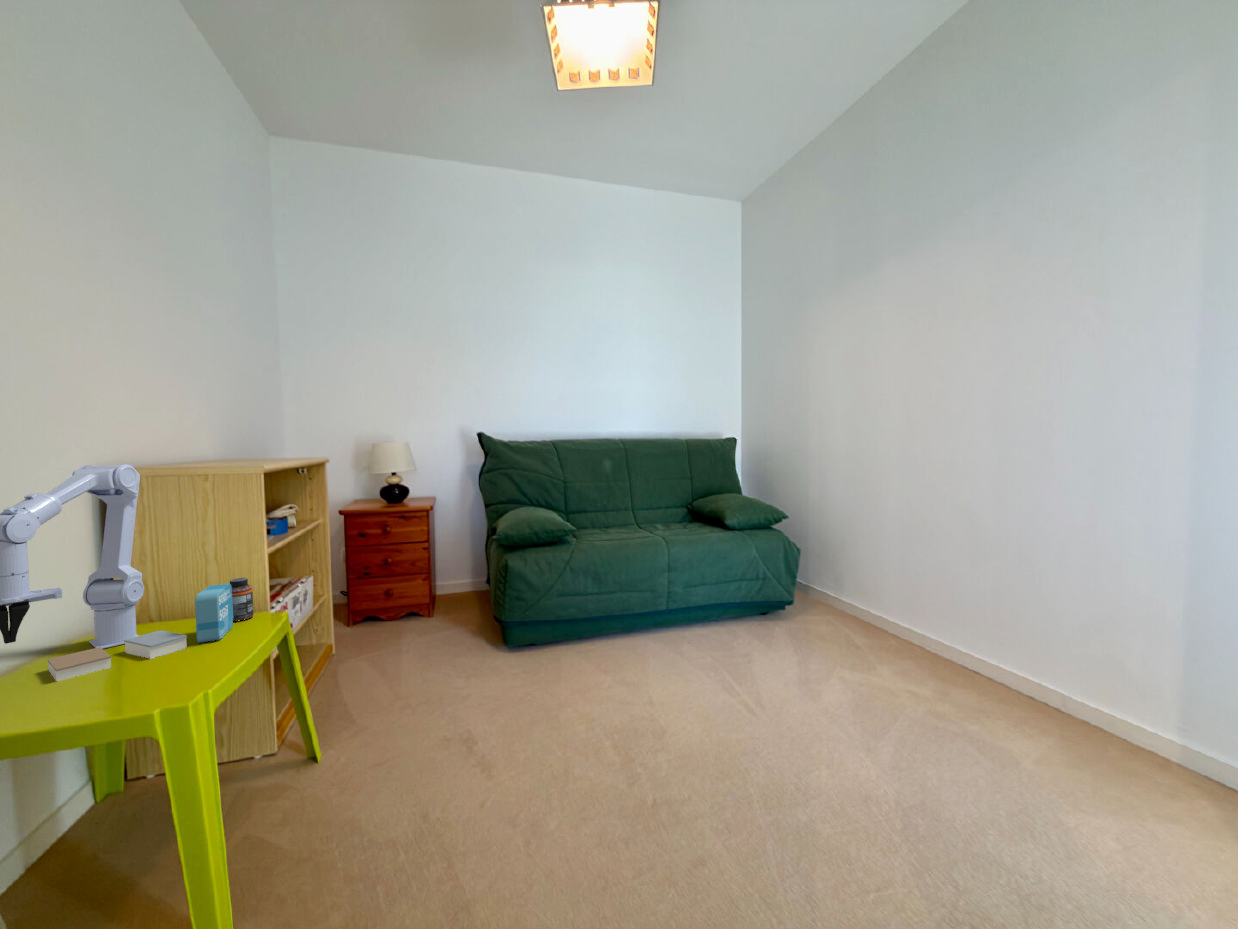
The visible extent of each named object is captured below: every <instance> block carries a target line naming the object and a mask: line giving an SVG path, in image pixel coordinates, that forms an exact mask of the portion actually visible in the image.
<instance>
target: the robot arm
mask: <svg viewBox="0 0 1238 929" xmlns="http://www.w3.org/2000/svg"><path fill="white" fill-rule="evenodd" d="M140 479H141V474H140V473H139V472H138V471H137V470H136V469H135V467H133V466H132V465H131V464H127V463H125V464H115V465H114V464H109V465H107V464H105V465H91V464H90V465H89V464H86V465H83V466H81V467H80V468H78V469H75V470H73V471H72V476H70V477H68V478H67V479H65V480H64V481H63V482H61V483H60V484H58V485H57V486H55V487H54V488H52V489H51V490H49V491H48V492H47V493H42V492H38V493H29V494H26V495H25V496H24V499H23V500H21V501H19V502H18V503H16V504H14V505H12V506H11V507H10V506H9V507H6V508H4V509H3V511H2V512H0V633H1V634H2V638H3V643H4V644H5V645H7V644H9V643H10V644H11V643H16V641H17V635H18V632H19V629H20V626H21V624H22V622H23V620H24V618H25V616H26V615H27V614H28V612H29V610H30V608H31V607H30V606H31V605H30V603H33V602H35V603H36V602H40V601H41V602H42V601H47V600H54V599H55V600H56V599H62V598H63V589H62V588H61V587H55V588H49V589H40V590H39V589H38V590H30V574H29V554H28V553H29V552H28V550H29V548H28V542H29V541H30V540H32V539H33V538H34V537H35V535H36V533H37V530H38V529H39V528H40V527H41V526H42V525H43V524H46V523H47V522H49V521H50V520H51V519H53V518H54V517H56V516H58V515H59V514H61V512H62V509H63V507H62V506H63V505H64V504H67V503H68V502H70V501H73V500H74V499H76V498H78V497H80V496H81V495H83V494H85V493H88V495H89V494H90V495H91V496H93V497H95V498H98V500H102V501H103V502H104V503H105V504H106V513H105V521H104V522H105V523H104V532H103V541H102V549H101V559H100V568H98V569H97V570H95V571H94V572H93V573H91V574H90V575H89V576H88V579H87V584H86V586H85V588H84V589H83V592H82V599H83V602H84V603H85V605H87V606H89V607H90V610H91V611H92V610H93V613H94V615H93V616H94V617H93V623H94V624H93V625H94V639H91V640H89V641H88V642H89V643H90V644H91V646H93V647H94V648H98V647H100V648H102V649H103V650H104V649H107V648H112V647H116V646H120V645H125V642H124V640H126V639H130V638H134V637H137V636H140V635H139V634H138V633H137V619H136V618H137V616H136V604H139V602H140V600H141V599H142V597H143V595H144V592H145V585H144V583H143V573H142V572H141V571H139V570H137V569H136V568H134V567H132V556H133V554H132V553H133V548H134V547H133V546H134V535H135V526H136V525H135V524H136V517H137V516H136V515H137V506H138V497H139V491H140V490H139V489H140V482H141V480H140Z"/></svg>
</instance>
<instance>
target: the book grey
mask: <svg viewBox="0 0 1238 929" xmlns="http://www.w3.org/2000/svg"><path fill="white" fill-rule="evenodd" d="M187 638H188V635H187V634H184V633H183V634H181V633H177V632H172V631H165V630H161V629H160V630H156V631H153V632H149V633H145V634H142V635H139V636H137V637H134V638H130V639H126V640H124V642H125V644H124V653H125V654H128V655H131V656H135V657H136V656H137V657H140V656H141V658H144V657H145V659H150V660H153V659H156V658H155V657H157V656H160V657H163V656H165V655H166V656H167V655H170V654H173V653H175V652H179V651H182V650H185V649H188V647H187V643H188V642H187ZM178 650H179V651H178ZM157 658H158V657H157Z"/></svg>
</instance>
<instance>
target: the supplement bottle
mask: <svg viewBox="0 0 1238 929" xmlns="http://www.w3.org/2000/svg"><path fill="white" fill-rule="evenodd" d="M229 584H231V587H232V607H233V621H238V620H244V619H248V620H250V619H251V617H252V618H254V599H253V598H254V597H253V594H254V593H253V586H252V585H250V584H249V582H248V578H247V577H237V578H233V579H230V580H229ZM249 618H250V619H249Z"/></svg>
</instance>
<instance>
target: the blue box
mask: <svg viewBox="0 0 1238 929" xmlns="http://www.w3.org/2000/svg"><path fill="white" fill-rule="evenodd" d="M194 601H195V602H194V605H195V606H194V607H195V608H194V609H195V627H196V628H195V631H196V632H195V633H196V641H197V643H207V642H208V641H209V642H215V640H216V641H221V640H222V639H223V638H224V637H225V636H226V635H227V634H228V633H229V632H230V631H229V630H232V628H233V626H234V625H233V624H234V622H233V607H232V587H231V584H230V583H224V584H223V583H222V584H214V585H209V586H207V587H205V589H203V590H202V591H200V592H199V593H197V594H196V596H195V599H194ZM231 627H232V628H231ZM228 631H229V632H228ZM227 632H228V633H227ZM226 633H227V634H226ZM225 634H226V635H225ZM224 635H225V636H224ZM221 638H222V639H221ZM220 639H221V640H220Z"/></svg>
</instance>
